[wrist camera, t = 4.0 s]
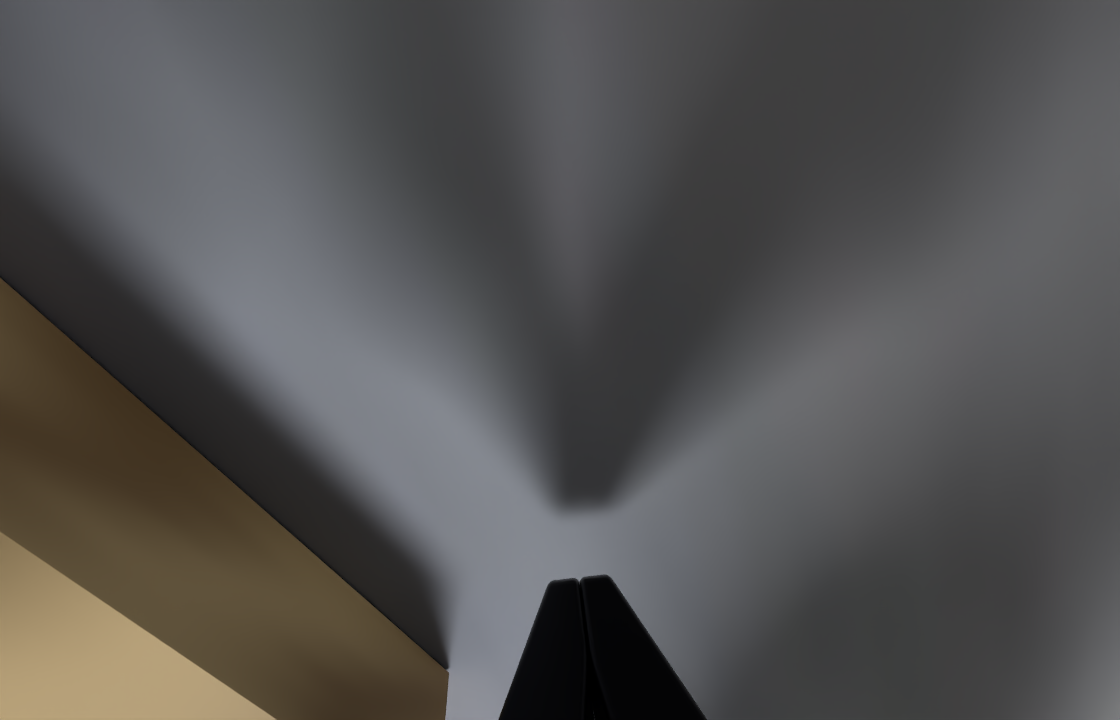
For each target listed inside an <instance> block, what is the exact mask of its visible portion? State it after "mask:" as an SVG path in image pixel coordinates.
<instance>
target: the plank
mask: <svg viewBox="0 0 1120 720" xmlns="http://www.w3.org/2000/svg"><path fill="white" fill-rule="evenodd" d="M448 678H449V672H447V671H446V670H445V669H444V668H443V667H442V666H441V665H439V664H438V663H437V662H436V661H435V660H434V659H433V658H432V657H430V656H429V655H428V654H427V653H426V652H425V651H424V650H422V649H421V648H420V647H419V646H418V645H417V644H416V643H414V642H413V641H412V640H411V639H410V638H409V637H408V636H407V635H405V634H404V633H403V632H402V631H401V630H400V629H399V628H397V627H396V626H395V625H394V624H393V623H392V622H391V621H389V620H388V619H387V618H386V617H385V616H384V615H383V614H382V613H380V612H379V611H378V610H377V609H376V608H375V607H374V606H372V605H371V604H370V603H369V602H368V601H367V600H366V599H365V598H363V597H362V596H361V595H360V594H359V593H358V592H357V591H355V590H354V589H353V588H352V587H351V586H350V585H349V584H347V583H346V582H345V581H344V580H343V579H342V578H341V577H340V576H338V575H337V574H336V573H335V572H334V571H333V570H332V569H330V568H329V567H328V566H327V565H326V564H325V563H324V562H322V561H321V560H320V559H319V558H318V557H317V556H316V555H315V554H313V553H312V552H311V551H310V550H309V549H308V548H307V547H305V546H304V545H303V544H302V543H301V542H300V541H299V540H297V539H296V538H295V537H294V536H293V535H292V534H291V533H290V532H288V531H287V530H286V529H285V528H284V527H283V526H282V525H280V524H279V523H278V522H277V521H276V520H275V519H274V518H273V517H271V516H270V515H269V514H268V513H267V512H266V511H265V510H263V509H262V508H261V507H260V506H259V505H258V504H257V503H255V502H254V501H253V500H252V499H251V498H250V497H249V496H248V495H246V494H245V493H244V492H243V491H242V490H241V489H240V488H238V487H237V486H236V485H235V484H234V483H233V482H232V481H230V480H229V479H228V478H227V477H226V476H225V475H224V474H223V473H221V472H220V471H219V470H218V469H217V468H216V467H215V466H213V465H212V464H211V463H210V462H209V461H208V460H207V459H205V458H204V457H203V456H202V455H201V454H200V453H199V452H198V451H196V450H195V449H194V448H193V447H192V446H191V445H190V444H188V443H187V442H186V441H185V440H184V439H183V438H182V437H181V436H179V435H178V434H177V433H176V432H175V431H174V430H173V429H171V428H170V427H169V426H168V425H167V424H166V423H165V422H163V421H162V420H161V419H160V418H159V417H158V416H157V415H156V414H154V413H153V412H152V411H151V410H150V409H149V408H148V407H146V406H145V405H144V404H143V403H142V402H141V401H140V400H138V399H137V398H136V397H135V396H134V395H133V394H132V393H131V392H129V391H128V390H127V389H126V388H125V387H124V386H123V385H121V384H120V383H119V382H118V381H117V380H116V379H115V378H113V377H112V376H111V375H110V374H109V373H108V372H107V371H106V370H104V369H103V368H102V367H101V366H100V365H99V364H98V363H96V362H95V361H94V360H93V359H92V358H91V357H90V356H89V355H87V354H86V353H85V352H84V351H83V350H82V349H81V348H79V347H78V346H77V345H76V344H75V343H74V342H73V341H71V340H70V339H69V338H68V337H67V336H66V335H65V334H64V333H62V332H61V331H60V330H59V329H58V328H57V327H56V326H54V325H53V324H52V323H51V322H50V321H49V320H48V319H46V318H45V317H44V316H43V315H42V314H41V313H40V312H39V311H37V310H36V309H35V308H34V307H33V306H32V305H31V304H29V303H28V302H27V301H26V300H25V299H24V298H23V297H22V296H20V295H19V294H18V293H17V292H16V291H15V290H14V289H12V288H11V287H10V286H9V285H8V284H7V283H6V282H4V281H3V280H2V279H1V278H0V720H445V715H446V703H447V691H448Z"/></svg>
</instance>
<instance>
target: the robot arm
mask: <svg viewBox="0 0 1120 720" xmlns="http://www.w3.org/2000/svg"><path fill="white" fill-rule="evenodd" d="M594 719H595V720H707V719H706V717H705V716H704V714H703V713H702V711H701V710H700V708H699V707H698V705H697V704H696V702H695V701H694V700H693V698H692V697H691V695H690V694H689V692H688V691H687V689H686V688H685V686H684V685H683V683H682V682H681V680H680V679H679V677H678V676H677V674H676V673H675V671H674V670H673V668H672V667H671V665H670V664H669V663H668V661H667V660H666V658H665V657H664V655H663V654H662V652H661V651H660V649H659V648H658V646H657V645H656V643H655V642H654V640H653V639H652V637H651V636H650V634H649V633H648V631H647V630H646V628H645V627H644V626H643V624H642V623H641V621H640V620H639V618H638V617H637V615H636V614H635V612H634V611H633V609H632V608H631V606H630V605H629V603H628V602H627V600H626V599H625V597H624V596H623V594H622V593H621V591H620V590H619V588H618V587H617V586H616V584H615V583H614V581H613V580H612V578H611V577H610V576H608V575H597V576H588V577H583V578H582V579H581V580H580V584H579V581H578V580H577V579H575V578H570V579H561V580H553V581H551V582H550V583H549V584H548V586H547V588H546V591H545V594H544V596H543V599H542V602H541V604H540V607H539V610H538V613H537V615H536V618H535V621H534V624H533V626H532V629H531V632H530V635H529V637H528V640H527V643H526V646H525V648H524V651H523V654H522V657H521V659H520V662H519V665H518V667H517V670H516V673H515V676H514V678H513V681H512V684H511V687H510V689H509V692H508V695H507V698H506V700H505V703H504V706H503V709H502V711H501V714H500V717H499V720H594Z"/></svg>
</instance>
